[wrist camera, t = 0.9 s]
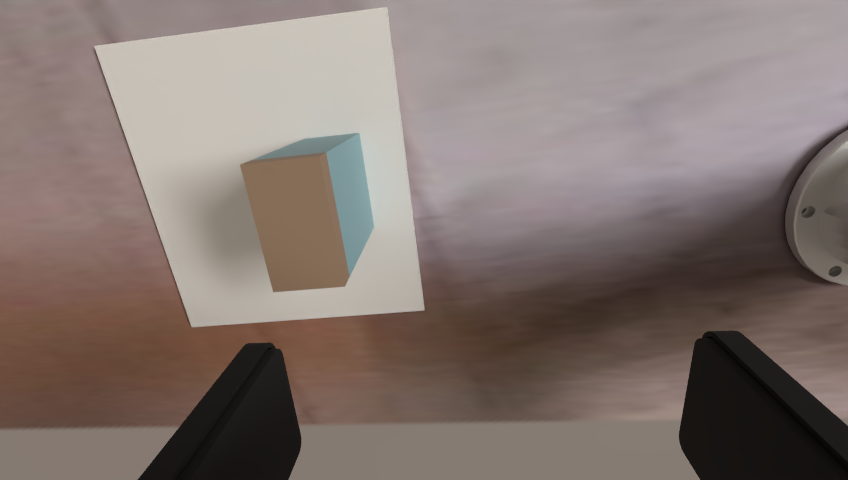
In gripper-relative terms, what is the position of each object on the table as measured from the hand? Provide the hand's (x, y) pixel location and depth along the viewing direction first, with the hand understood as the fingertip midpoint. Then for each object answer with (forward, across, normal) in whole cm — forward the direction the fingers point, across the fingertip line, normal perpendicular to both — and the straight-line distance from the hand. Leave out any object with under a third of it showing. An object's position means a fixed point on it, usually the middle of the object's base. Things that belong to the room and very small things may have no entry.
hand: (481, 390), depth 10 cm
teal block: (+22, +9, 0) cm, 24 cm away
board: (+22, +14, 0) cm, 26 cm away
